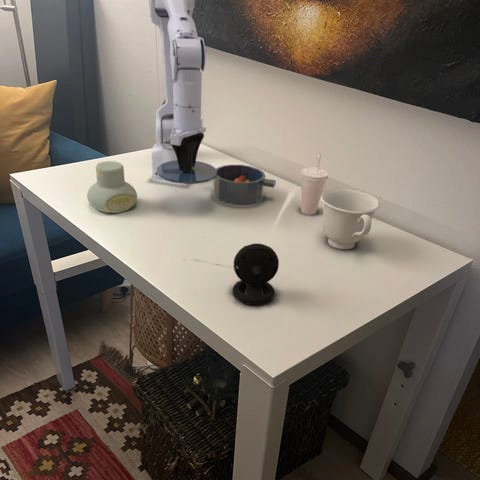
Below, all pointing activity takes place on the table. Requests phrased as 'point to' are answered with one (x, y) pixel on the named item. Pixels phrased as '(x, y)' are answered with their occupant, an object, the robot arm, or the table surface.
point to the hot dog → (241, 179)
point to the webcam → (255, 273)
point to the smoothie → (312, 187)
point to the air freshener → (111, 189)
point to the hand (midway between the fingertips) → (187, 168)
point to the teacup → (347, 216)
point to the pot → (240, 185)
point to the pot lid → (194, 176)
